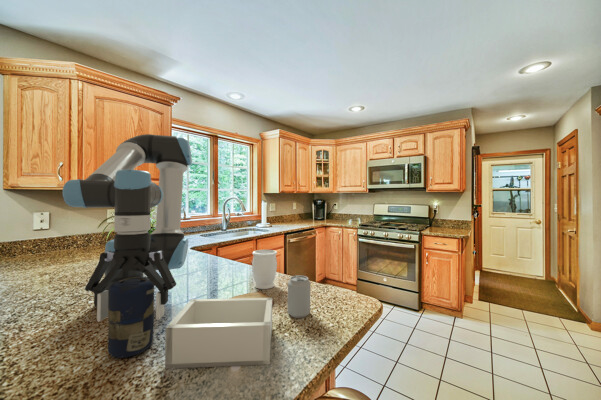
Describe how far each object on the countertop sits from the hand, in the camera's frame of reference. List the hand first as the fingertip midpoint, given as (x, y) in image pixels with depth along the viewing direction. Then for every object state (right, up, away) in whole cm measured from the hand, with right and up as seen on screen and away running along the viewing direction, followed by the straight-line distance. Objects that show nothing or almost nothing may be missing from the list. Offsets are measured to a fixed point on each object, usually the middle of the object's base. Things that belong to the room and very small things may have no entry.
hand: (131, 318), depth 62 cm
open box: (+23, -8, +2) cm, 24 cm away
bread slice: (+22, -9, +26) cm, 35 cm away
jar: (+26, -8, +47) cm, 54 cm away
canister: (0, -8, 0) cm, 8 cm away
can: (+41, -9, +21) cm, 47 cm away
